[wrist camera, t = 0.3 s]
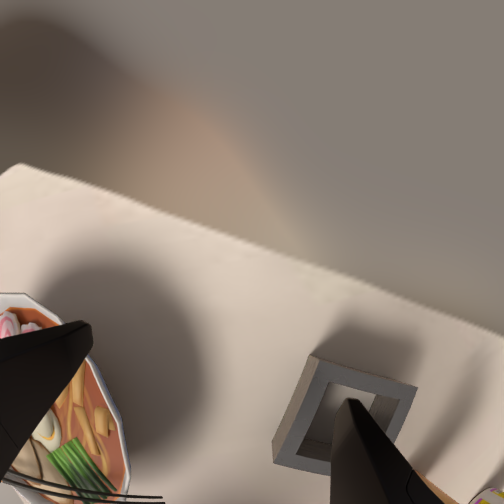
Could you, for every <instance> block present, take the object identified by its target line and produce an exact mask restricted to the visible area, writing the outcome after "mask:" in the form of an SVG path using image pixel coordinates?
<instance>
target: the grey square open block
mask: <svg viewBox="0 0 504 504" xmlns="http://www.w3.org/2000/svg"><path fill="white" fill-rule="evenodd" d="M329 381H330V382H333V383H337V384H340V385H344V386H347V387H351V388H354V389H358V390H362V391H366V392H370V393H374V394H376V397H375V399H374V401H373V404H372V406H371V409H370V411H369V413H370V414H371V416H372V417H373V418H374V420H375V421H376V422H377V423H378V425H379V426H380V427H381V429H382V430H383V431H384V432H385V434H386V435H387V436H388V437H389V439H390V440H391V441H392V442H393V444H394V442H395V440H396V438H397V436H398V434H399V432H400V430H401V428H402V425H403V423H404V421H405V419H406V416H407V414H408V412H409V409H410V407H411V404H412V402H413V399H414V397H415V394H416V391H417V389H418V387H415V386H412V385H409V384H406V383H402V382H399V381H396V380H393V379H389V378H385V377H382V376H378V375H374V374H371V373H367V372H363V371H360V370H356V369H353V368H350V367H346V366H343V365H340V364H336V363H333V362H330V361H327V360H324V359H321V358H317V357H314V356H311V355H309V357H308V359H307V362H306V365H305V367H304V370H303V372H302V374H301V377H300V379H299V382H298V384H297V387H296V389H295V391H294V394H293V396H292V398H291V401H290V403H289V405H288V408H287V410H286V412H285V414H284V416H283V419H282V421H281V423H280V425H279V427H278V429H277V432H276V434H275V436H274V438H273V440H272V453H273V463H275V464H278V465H282V466H286V467H290V468H294V469H298V470H303V471H307V472H312V473H317V474H322V475H327V476H331V451H332V444H327V443H323V442H319V441H315V440H311V439H307V438H304V437H305V435H306V433H307V430H308V428H309V426H310V424H311V422H312V420H313V418H314V415H315V413H316V411H317V409H318V406H319V404H320V402H321V400H322V397H323V395H324V392H325V390H326V388H327V385H328V383H329Z"/></svg>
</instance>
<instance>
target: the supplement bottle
mask: <svg viewBox="0 0 504 504" xmlns="http://www.w3.org/2000/svg"><path fill="white" fill-rule="evenodd" d="M470 504H504V492H503V491H501V490H499V489H496V488H488V489H486V490H484V491H483V492H481V493H480V494H479V495H478V496H476V497H475V498H474V499H473V500H472V501H471V503H470Z"/></svg>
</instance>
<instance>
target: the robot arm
mask: <svg viewBox="0 0 504 504" xmlns="http://www.w3.org/2000/svg"><path fill="white" fill-rule="evenodd" d="M92 346H93V336H92V328H91V325H90V324H89V323H87V322H85V321H83V320H79V321H74V322H70V323H66V324H62V325H57V326H53V327H49V328H44V329H40V330H36V331H31V332H27V333H22V334H18V335H13V336H8V337H4V338H2V339H1V338H0V483H1V481H2V479H3V478H4V476H5V474H6V473H7V471H8V470H9V468H10V466H11V465H12V463H13V462H14V460H15V459H16V457H17V456H18V454H19V453H20V451H21V449H22V448H23V446H24V445H25V443H26V442H27V440H28V439H29V437H30V436H31V435H32V433H33V432H34V430H35V429H36V427H37V426H38V425H39V423H40V422H41V420H42V419H43V418H44V416H45V415H46V413H47V412H48V411H49V409H50V408H51V406H52V405H53V404H54V402H55V401H56V400H57V398H58V397H59V396H60V394H61V393H62V392H63V390H64V389H65V388H66V386H67V385H68V384H69V383H70V381H71V380H72V378H73V377H74V376H75V374H76V373H77V371H78V369H79V368H80V366H81V364H82V363H83V361H84V360H85V358H86V356H87V355H88V353H89V352H90V350H91V348H92ZM330 504H445V503H444V502H443V501H442V500H441V499H440V498H439V497H438V496H437V495H436V494H435V493H434V492H433V491H432V490H431V489H430V488H429V487H428V486H427V485H426V484H425V482H424V481H423V480H422V479H421V478H420V477H419V475H418V474H417V473H416V471H415V470H414V469H413V470H412V467H411V465H410V464H409V463H408V461H407V460H406V459H405V458H404V456H403V455H402V454H401V453H400V451H399V450H398V449H397V448H396V446H395V445H394V444H393V442H392V441H391V440H390V439H389V437H388V436H387V435H386V434H385V432H384V431H383V430H382V429H381V427H380V426H379V425H378V423H377V422H376V421H375V420H374V418H373V417H372V416H371V414H370V413H369V412H368V411H367V409H366V408H365V407H364V406H363V404H362V403H361V402H360V400H358V399H354V398H346V399H345V400H344V402H343V404H342V405H341V407H340V409H339V410H338V412H337V414H336V417H335V425H334V434H333V443H332V451H331V487H330Z"/></svg>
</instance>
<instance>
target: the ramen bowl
mask: <svg viewBox="0 0 504 504" xmlns="http://www.w3.org/2000/svg"><path fill="white" fill-rule="evenodd" d="M62 324H65V323H64V322H63V321H62V319H61V318H60V317H59V316H58V315H57V314H55V313H53V312H52V311H50V310H49V309H47V308H46V307H44V306H43V305H41V304H40V303H38V302H37V301H36V300H34V299H33V298H31V297H30V296H28V295H27V294H26V293H0V338H1V339H2V338H4V337H8V336H13V335H18V334H22V333H27V332H31V331H36V330H40V329H44V328H49V327H53V326H57V325H62ZM130 480H131V465H130V461H129V456H128V451H127V446H126V441H125V435H124V429H123V423H122V418H121V415H120V413H119V411H118V409H117V407H116V405H115V403H114V401H113V399H112V397H111V395H110V393H109V390H108V388H107V386H106V384H105V382H104V379H103V377H102V375H101V372H100V370H99V368H98V366H97V365H96V364H95V363H94V361H93V360H92V359H91V358H90V356H89V355H87V356H86V358H85V360H84V361H83V363H82V364H81V366H80V368H79V369H78V371H77V373H76V374H75V376H74V377H73V378H72V380H71V381H70V383H69V384H68V385H67V386H66V388H65V389H64V390H63V392H62V393H61V394H60V396H59V397H58V398H57V400H56V401H55V402H54V404H53V405H52V406H51V408H50V409H49V411H48V412H47V413H46V415H45V416H44V418H43V419H42V420H41V422H40V423H39V425H38V426H37V427H36V429H35V430H34V432H33V433H32V435H31V436H30V437H29V439H28V440H27V442H26V443H25V445H24V446H23V448H22V449H21V451H20V453H19V454H18V456H17V457H16V459H15V460H14V462H13V463H12V465H11V466H10V468H9V470H8V471H7V473H6V474H5V476H4V478H3V479H2V481H1V482H3V483H6V484H9V485H11V486H12V487H13V488H14V489H15V490H16V491H17V492H18V493H19V494H20V495H21V496H22V497H24V498H25V499H26V500H27V501H28V502H29V503H30V504H165V502H126V498H149V499H162V498H163V497H162V496H137V495H127V493H128V489H129V484H130Z"/></svg>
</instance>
